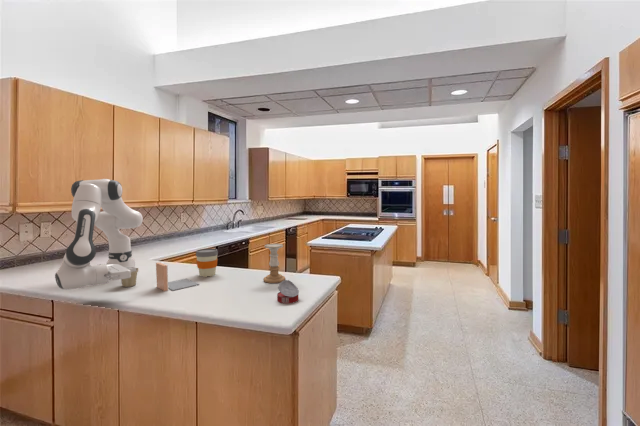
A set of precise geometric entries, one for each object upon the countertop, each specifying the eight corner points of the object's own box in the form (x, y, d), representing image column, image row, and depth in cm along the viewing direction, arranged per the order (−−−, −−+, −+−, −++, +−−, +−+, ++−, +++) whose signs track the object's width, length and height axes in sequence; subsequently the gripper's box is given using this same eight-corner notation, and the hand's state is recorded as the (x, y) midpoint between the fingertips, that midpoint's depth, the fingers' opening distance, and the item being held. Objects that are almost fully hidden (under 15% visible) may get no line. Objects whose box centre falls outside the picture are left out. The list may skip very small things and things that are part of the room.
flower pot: (143, 284, 172) (142, 268, 172) (125, 289, 164) (124, 272, 164) (133, 282, 177) (132, 266, 176) (115, 286, 169) (114, 270, 168)
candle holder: (261, 283, 173) (260, 246, 172) (265, 277, 186) (265, 243, 184) (283, 283, 173) (283, 246, 172) (286, 277, 185) (286, 243, 184)
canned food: (294, 306, 152) (304, 287, 153) (293, 311, 142) (303, 291, 143) (273, 295, 152) (283, 276, 153) (270, 300, 142) (281, 280, 142)
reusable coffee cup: (214, 277, 185) (213, 252, 184) (192, 277, 185) (192, 252, 184) (221, 272, 198) (220, 248, 197) (201, 272, 198) (200, 248, 197)
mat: (160, 284, 172) (160, 283, 172) (186, 279, 182) (186, 278, 182) (172, 290, 161) (172, 289, 161) (199, 284, 171) (199, 283, 171)
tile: (156, 287, 168) (155, 262, 167) (160, 286, 169) (159, 262, 168) (164, 291, 161) (163, 265, 160) (168, 290, 162) (167, 265, 161)
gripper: (107, 270, 137) (142, 265, 148) (96, 264, 151) (128, 259, 162) (108, 285, 138) (143, 278, 148) (96, 277, 152) (129, 271, 162)
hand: (135, 268), depth 155 cm, fingers closed
